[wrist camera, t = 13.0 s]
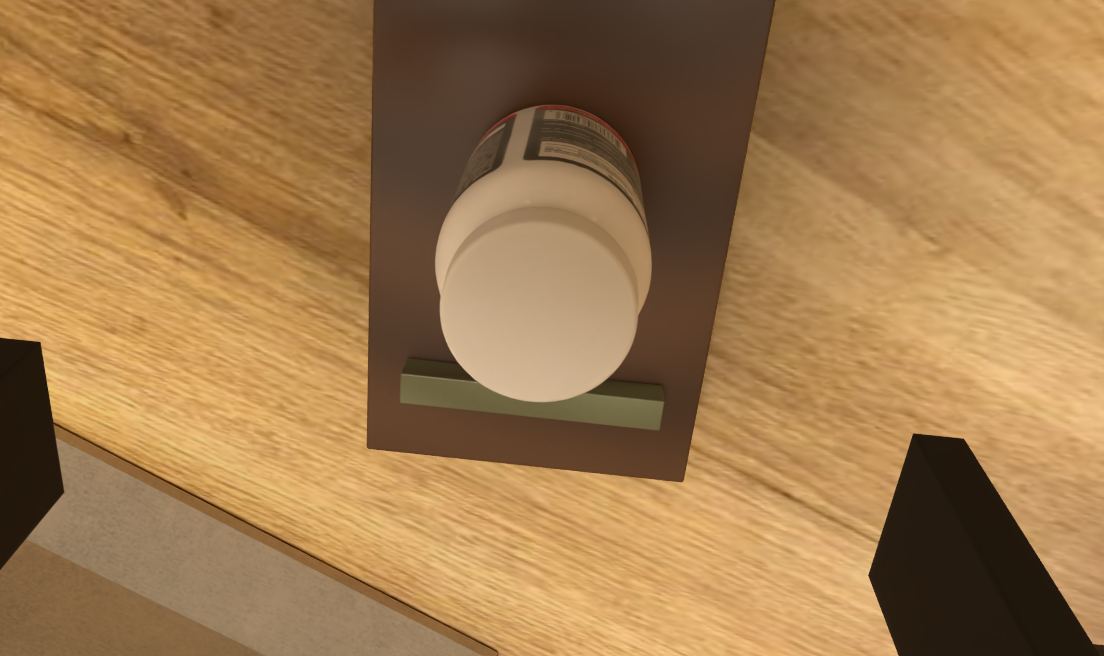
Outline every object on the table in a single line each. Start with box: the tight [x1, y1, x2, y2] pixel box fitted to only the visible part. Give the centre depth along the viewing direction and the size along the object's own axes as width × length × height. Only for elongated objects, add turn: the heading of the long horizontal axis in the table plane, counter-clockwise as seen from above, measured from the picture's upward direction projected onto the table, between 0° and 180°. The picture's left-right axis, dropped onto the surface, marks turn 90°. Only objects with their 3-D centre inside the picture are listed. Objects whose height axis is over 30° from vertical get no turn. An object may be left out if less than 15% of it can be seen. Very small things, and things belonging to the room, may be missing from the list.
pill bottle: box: [435, 105, 652, 402], centre depth 27 cm, size 6×6×10 cm
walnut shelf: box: [367, 0, 776, 482], centre depth 33 cm, size 22×12×7 cm, turn 174°
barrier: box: [0, 425, 498, 656], centre depth 42 cm, size 28×7×10 cm, turn 57°
